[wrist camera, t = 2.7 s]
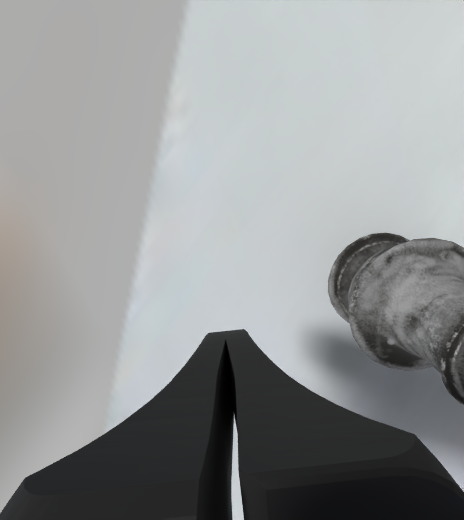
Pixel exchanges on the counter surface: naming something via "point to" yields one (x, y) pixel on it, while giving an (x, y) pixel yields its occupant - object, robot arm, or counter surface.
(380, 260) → the grey tapered rounded piece
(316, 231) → the counter surface
